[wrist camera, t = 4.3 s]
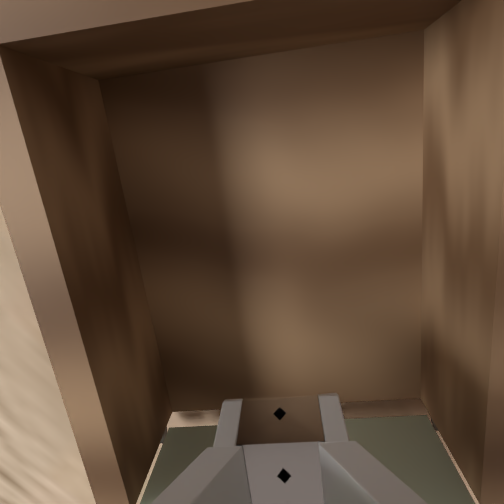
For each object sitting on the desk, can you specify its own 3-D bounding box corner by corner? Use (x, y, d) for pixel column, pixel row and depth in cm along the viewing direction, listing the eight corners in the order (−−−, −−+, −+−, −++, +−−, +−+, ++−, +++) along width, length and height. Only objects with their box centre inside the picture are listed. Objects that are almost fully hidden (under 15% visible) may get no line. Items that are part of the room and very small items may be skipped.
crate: (74, 55, 14) (-68, -6, 8) (448, -6, 13) (592, -131, 7) (159, 418, 19) (107, 538, 13) (438, 403, 17) (517, 531, 12)
